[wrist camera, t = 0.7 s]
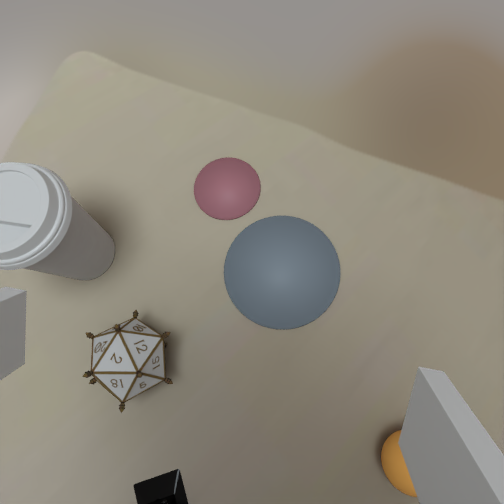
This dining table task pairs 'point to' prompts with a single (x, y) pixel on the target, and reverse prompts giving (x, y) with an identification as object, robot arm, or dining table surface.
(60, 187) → the coffee cup
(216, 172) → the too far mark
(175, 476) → the black boxy piece
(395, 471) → the ball
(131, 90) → the dining table surface
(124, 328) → the game die
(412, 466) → the robot arm
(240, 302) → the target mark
